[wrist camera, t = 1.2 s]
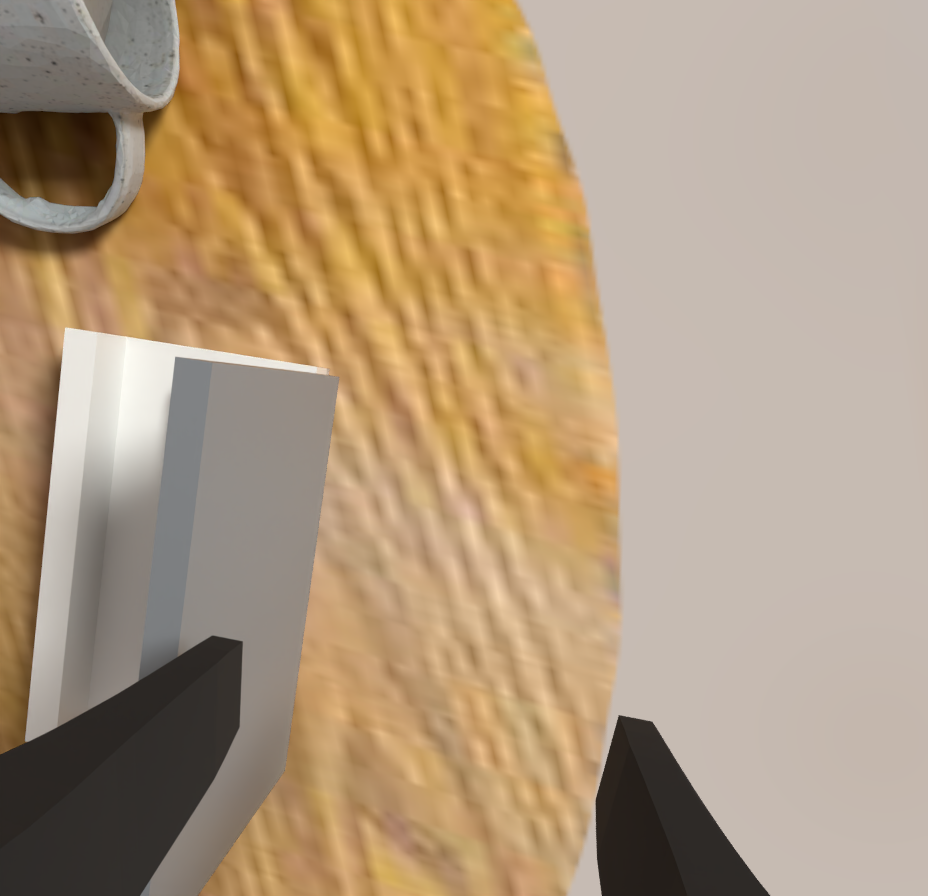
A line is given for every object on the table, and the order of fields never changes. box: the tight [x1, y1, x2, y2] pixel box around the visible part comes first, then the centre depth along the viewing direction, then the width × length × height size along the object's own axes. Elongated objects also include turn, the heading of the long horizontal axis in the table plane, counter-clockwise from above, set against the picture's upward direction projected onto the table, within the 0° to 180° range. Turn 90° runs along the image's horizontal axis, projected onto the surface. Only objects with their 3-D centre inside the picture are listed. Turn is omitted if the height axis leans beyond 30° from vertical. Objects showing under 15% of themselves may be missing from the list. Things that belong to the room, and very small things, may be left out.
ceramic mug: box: [0, 0, 179, 234], centre depth 18 cm, size 11×8×8 cm
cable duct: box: [25, 327, 329, 742], centre depth 22 cm, size 14×8×2 cm, turn 171°
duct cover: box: [138, 357, 339, 896], centre depth 17 cm, size 14×8×1 cm
